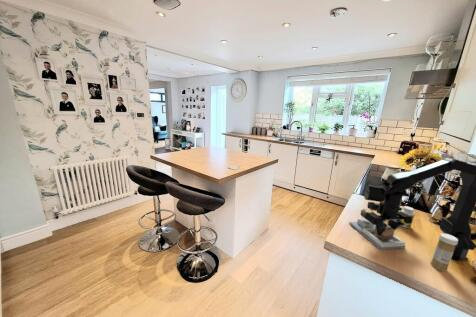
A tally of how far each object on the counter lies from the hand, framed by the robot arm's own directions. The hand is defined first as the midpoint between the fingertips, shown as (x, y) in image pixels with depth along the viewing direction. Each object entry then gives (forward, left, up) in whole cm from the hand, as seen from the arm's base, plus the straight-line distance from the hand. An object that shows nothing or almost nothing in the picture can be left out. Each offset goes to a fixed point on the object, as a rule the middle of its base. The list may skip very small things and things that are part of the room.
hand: (383, 234), depth 86 cm
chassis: (+4, 0, -3) cm, 5 cm away
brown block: (0, 0, -1) cm, 1 cm away
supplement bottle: (+10, -23, -3) cm, 25 cm away
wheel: (+10, 0, +3) cm, 11 cm away
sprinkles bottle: (-16, -9, -3) cm, 19 cm away
